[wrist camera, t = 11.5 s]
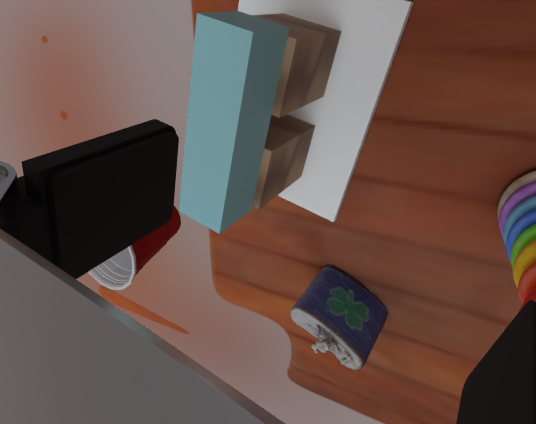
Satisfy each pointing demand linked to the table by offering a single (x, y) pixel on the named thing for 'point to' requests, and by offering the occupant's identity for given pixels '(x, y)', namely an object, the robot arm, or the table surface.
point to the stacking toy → (520, 233)
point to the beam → (228, 114)
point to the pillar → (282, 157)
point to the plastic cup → (134, 256)
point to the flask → (341, 316)
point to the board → (341, 90)
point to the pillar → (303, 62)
